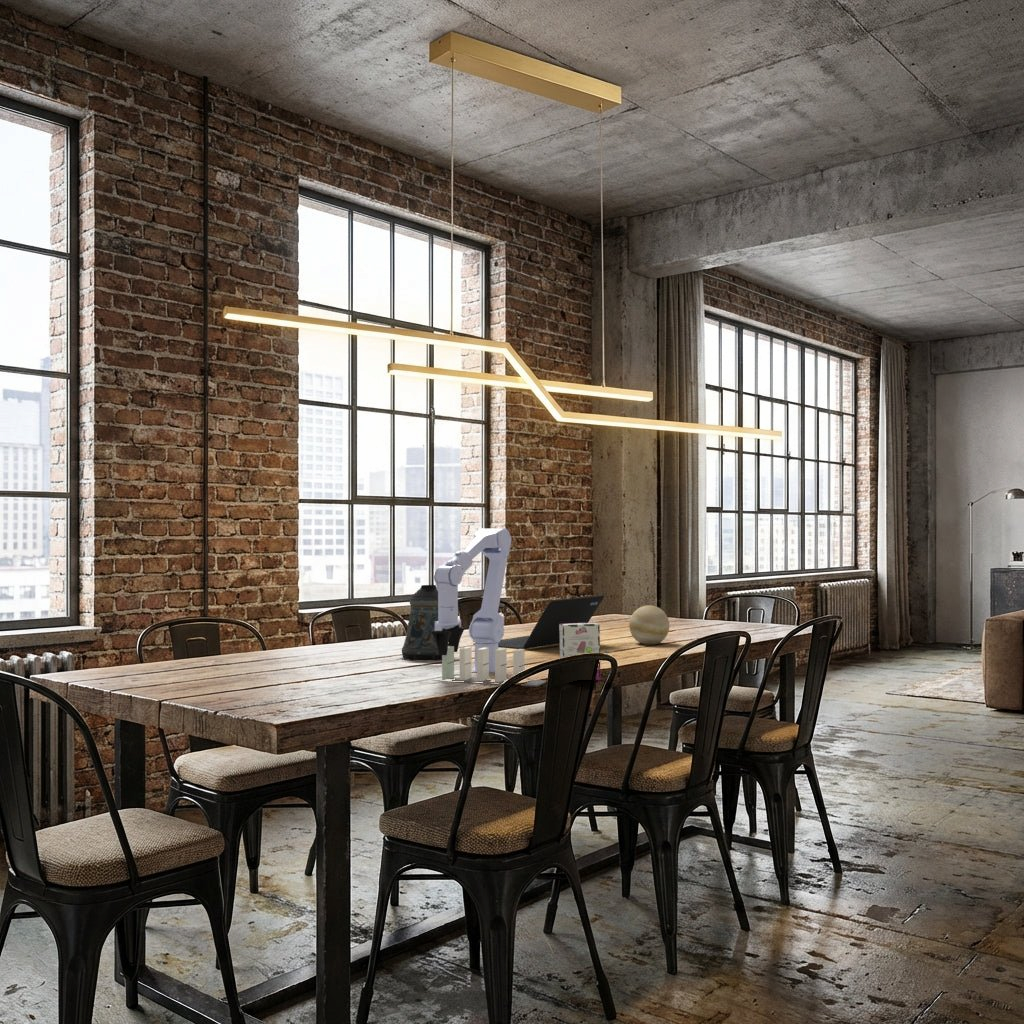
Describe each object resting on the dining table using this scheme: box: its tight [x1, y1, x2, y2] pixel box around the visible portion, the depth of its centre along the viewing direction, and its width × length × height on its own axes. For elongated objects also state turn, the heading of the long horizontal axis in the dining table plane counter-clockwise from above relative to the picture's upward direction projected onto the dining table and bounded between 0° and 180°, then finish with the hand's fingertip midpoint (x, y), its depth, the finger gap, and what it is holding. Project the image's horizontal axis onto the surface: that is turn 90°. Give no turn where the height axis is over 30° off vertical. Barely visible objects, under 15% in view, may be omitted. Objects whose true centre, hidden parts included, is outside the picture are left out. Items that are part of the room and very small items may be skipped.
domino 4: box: [512, 649, 526, 676], centre depth 294 cm, size 2×5×9 cm, turn 159°
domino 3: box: [494, 647, 508, 682], centre depth 296 cm, size 2×5×9 cm, turn 160°
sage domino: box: [441, 646, 455, 679], centre depth 301 cm, size 2×5×9 cm, turn 160°
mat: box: [452, 676, 547, 687], centre depth 297 cm, size 36×9×1 cm, turn 69°
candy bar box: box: [559, 622, 601, 681], centre depth 299 cm, size 11×5×16 cm, turn 101°
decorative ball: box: [628, 604, 670, 646], centre depth 389 cm, size 15×15×15 cm
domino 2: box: [476, 647, 490, 681], centre depth 297 cm, size 2×5×9 cm, turn 159°
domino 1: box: [459, 646, 473, 680], centre depth 299 cm, size 2×5×9 cm, turn 159°
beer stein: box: [401, 584, 449, 661], centre depth 349 cm, size 16×19×25 cm
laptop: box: [472, 594, 605, 650], centre depth 387 cm, size 33×38×19 cm
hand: (448, 653), depth 301 cm, fingers open, 7 cm apart
